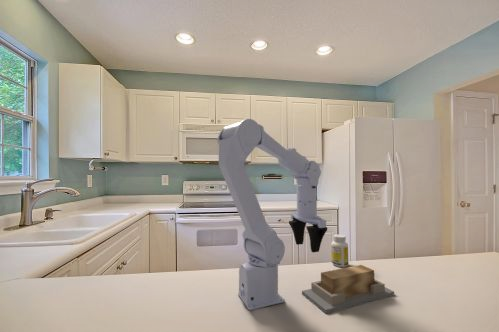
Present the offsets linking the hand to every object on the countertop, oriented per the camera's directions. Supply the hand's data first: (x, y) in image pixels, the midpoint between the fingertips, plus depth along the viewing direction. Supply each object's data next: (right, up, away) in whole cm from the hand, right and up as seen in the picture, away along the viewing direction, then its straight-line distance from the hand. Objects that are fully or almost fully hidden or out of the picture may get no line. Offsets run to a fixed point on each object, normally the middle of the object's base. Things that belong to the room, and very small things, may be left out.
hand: (306, 247), depth 67 cm
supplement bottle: (+14, -10, +12) cm, 21 cm away
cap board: (+9, -9, -8) cm, 15 cm away
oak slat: (+9, -8, -8) cm, 14 cm away
